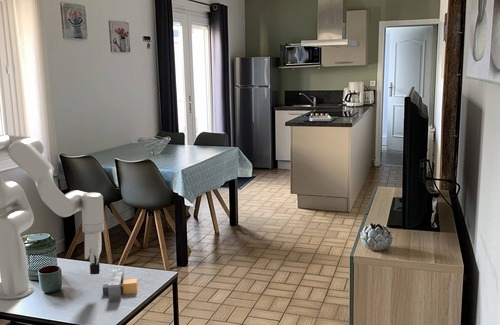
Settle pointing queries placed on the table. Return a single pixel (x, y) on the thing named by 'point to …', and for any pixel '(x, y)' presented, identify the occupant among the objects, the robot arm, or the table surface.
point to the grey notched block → (115, 284)
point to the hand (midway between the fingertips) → (94, 273)
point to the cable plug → (124, 287)
